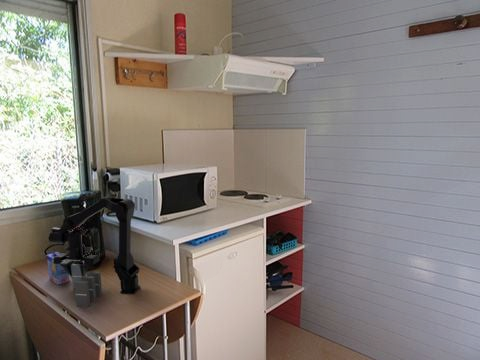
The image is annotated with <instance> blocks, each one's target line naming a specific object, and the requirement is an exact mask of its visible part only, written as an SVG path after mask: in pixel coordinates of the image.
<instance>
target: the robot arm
mask: <svg viewBox="0 0 480 360" xmlns="http://www.w3.org/2000/svg"><path fill="white" fill-rule="evenodd" d="M135 208H136V203H135V202H134V201H133V200H132V199H129V198H126V199H124V198H119V197H112V196H109V195H107V196H105V197H102V198H100V199H99V200H98V201H96V202H95V203H92V205H90V206H88V207H87V208H85V209H83V210H81V211H80V212H77V213H74V214H72V215H69V216H67V217H65V218H64V219H63V221H62V225H61V227H55V226H54V227H52V228H50V229H51V231H50V233H49V235H48V242H49V243H50V244H63V245H65V244H67V247H66V248H65V249H66V251H68V253H65V252H64V253H63V252H62V253H61V252H60V253H61V254H59V255H57V256H55V257H54V259H53V263H54V264H60V263H61V264H60V265H61V266H63V267H64V269H65V270H66V271H67V272H68V274H69V277H70V278H71V279H72V274H71V265H72V264H75V263H74V262H75V261H82V262H83V264H81V265H80V270H81V274H82V276H87V275H86V274H87V273H88V269H89V266H94V265H95V264H97V263H99V261H100V260H101V259H100V255H99V256H98V255H92V254H91V255H89V256H87V257H84V256H85V255H87V254H86V253H88V254H90V252H91V247H85V245H84V244H82V234H84V233H86V231H85V230H83V229H82V228H80V229H78V230H73V229H75V228H77V227H80V226H81V225H82V224H85V222H86V221H87V220H89V218H90V217H93V216H94V215H95V214H98V213H99V212H101V211H102V210H104V209H107V210H108V211H110V212H112V213H115V217H116V219H117V220H118V255H117V256H116V257H115V258H113V267H112V268H113V269H114V272H115V273H116V275H117V277H118V280H119V281H120V282H119V284H120V291H119V292H120V294H136V292H137V291H138V290H140V288H141V285H139V276H138V274H139V273H140V269H141V268H140V267H139V266H138V265H136V263H134V262H135V261H134V257H133V255H132V253H131V230H132V226H131V224H132V223H131V222H132V219H133V217H134V213H135ZM69 230H72V231H69ZM66 242H67V243H66Z"/></svg>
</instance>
